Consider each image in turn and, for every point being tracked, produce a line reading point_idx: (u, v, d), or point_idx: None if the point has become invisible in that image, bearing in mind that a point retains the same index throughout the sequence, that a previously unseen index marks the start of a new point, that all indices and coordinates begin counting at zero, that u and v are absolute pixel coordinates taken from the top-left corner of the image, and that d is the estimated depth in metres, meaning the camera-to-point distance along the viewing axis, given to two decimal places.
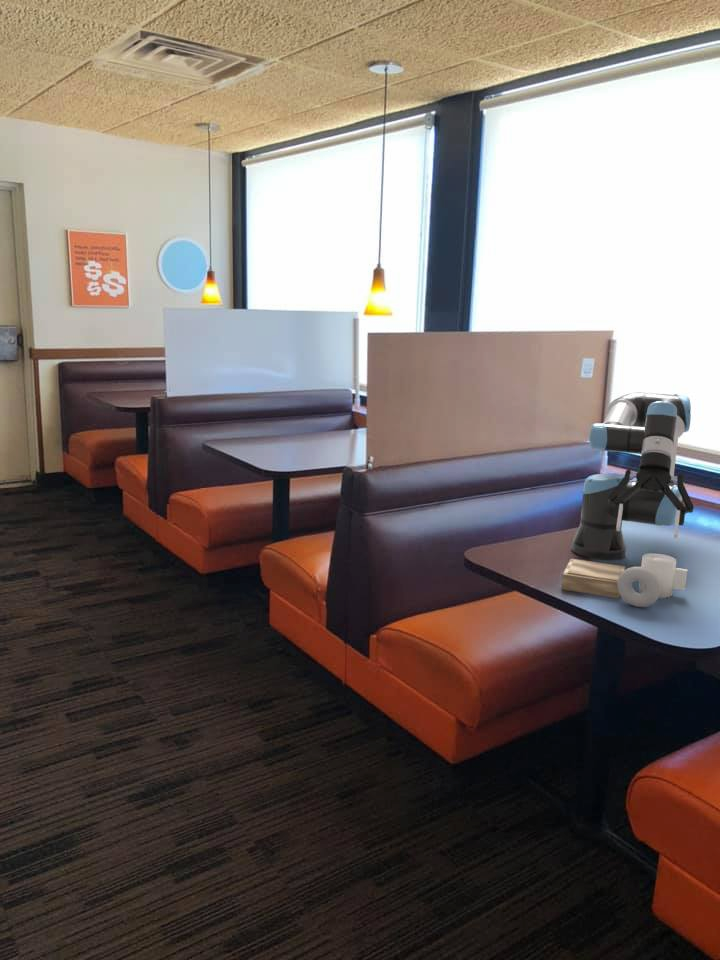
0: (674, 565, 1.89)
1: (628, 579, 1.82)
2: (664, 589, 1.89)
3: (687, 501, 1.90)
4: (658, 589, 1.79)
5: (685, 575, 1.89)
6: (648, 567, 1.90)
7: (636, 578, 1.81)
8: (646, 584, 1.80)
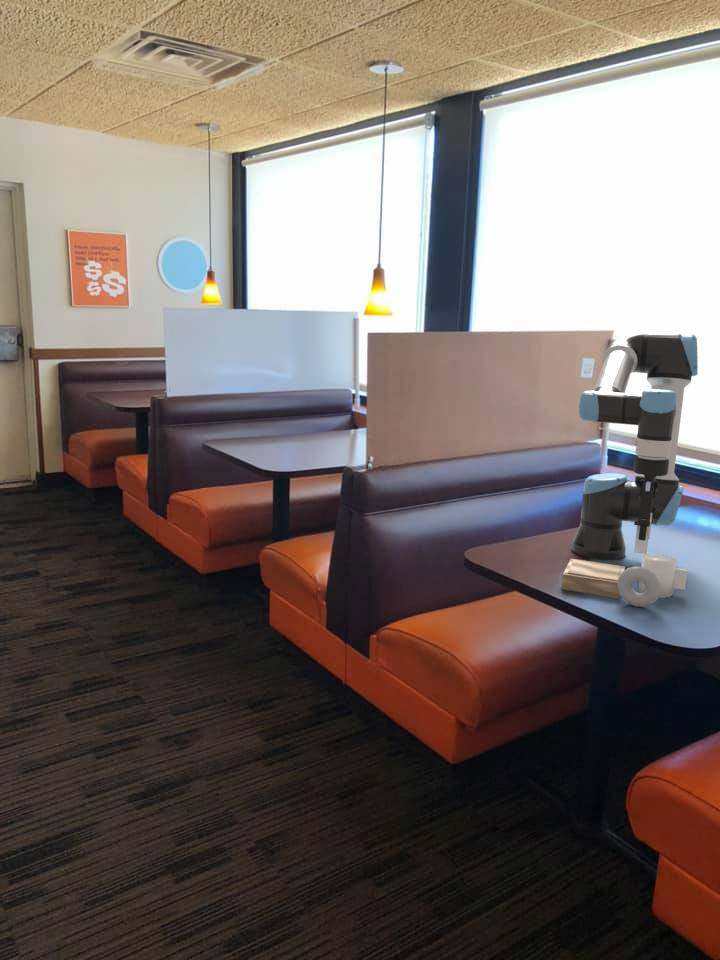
0: (674, 565, 1.89)
1: (628, 579, 1.82)
2: (664, 589, 1.89)
3: (638, 514, 1.71)
4: (658, 589, 1.79)
5: (685, 575, 1.89)
6: (648, 567, 1.90)
7: (636, 578, 1.81)
8: (646, 584, 1.80)
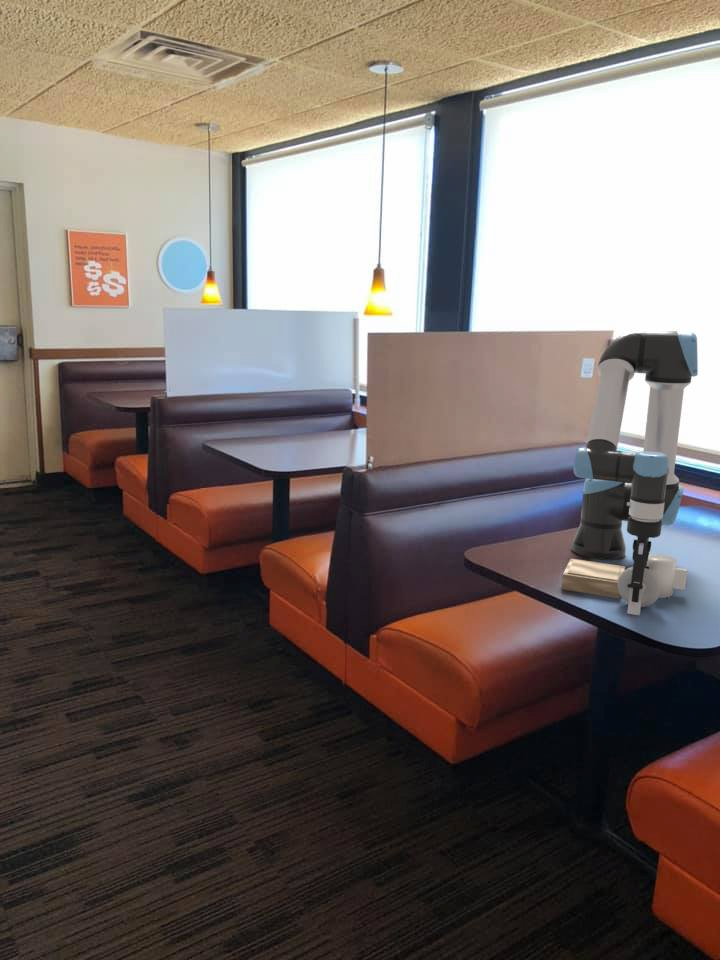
0: (674, 565, 1.89)
1: (628, 579, 1.82)
2: (664, 589, 1.89)
3: None
4: (658, 589, 1.79)
5: (685, 575, 1.89)
6: None
7: None
8: (646, 584, 1.80)
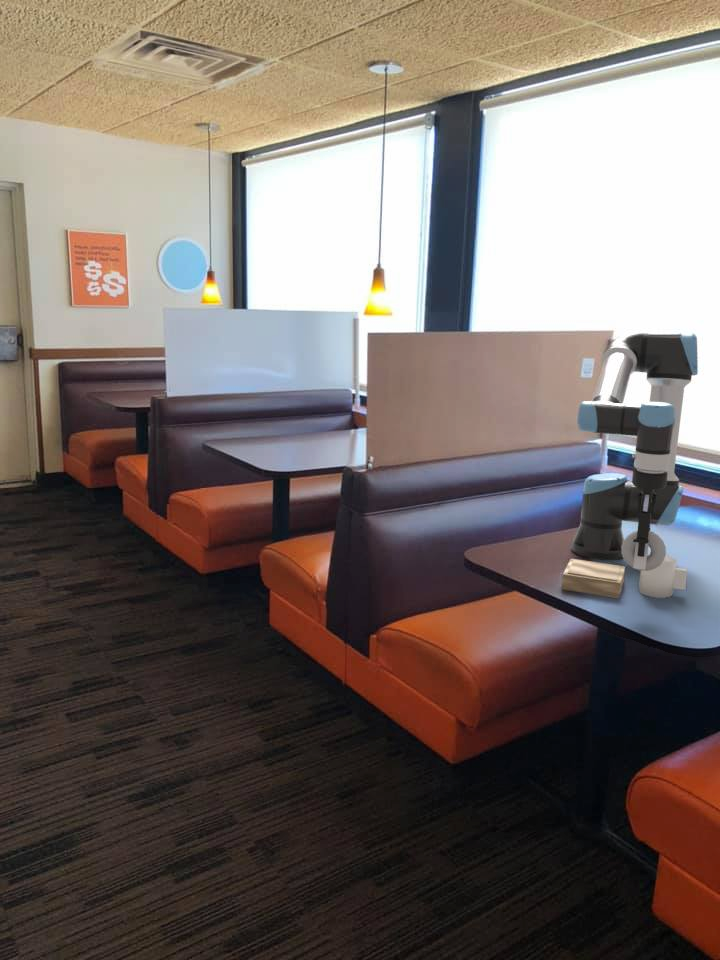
0: (674, 565, 1.89)
1: (634, 543, 1.79)
2: (664, 589, 1.89)
3: (637, 532, 1.75)
4: (664, 551, 1.78)
5: (685, 575, 1.89)
6: None
7: None
8: (652, 547, 1.78)
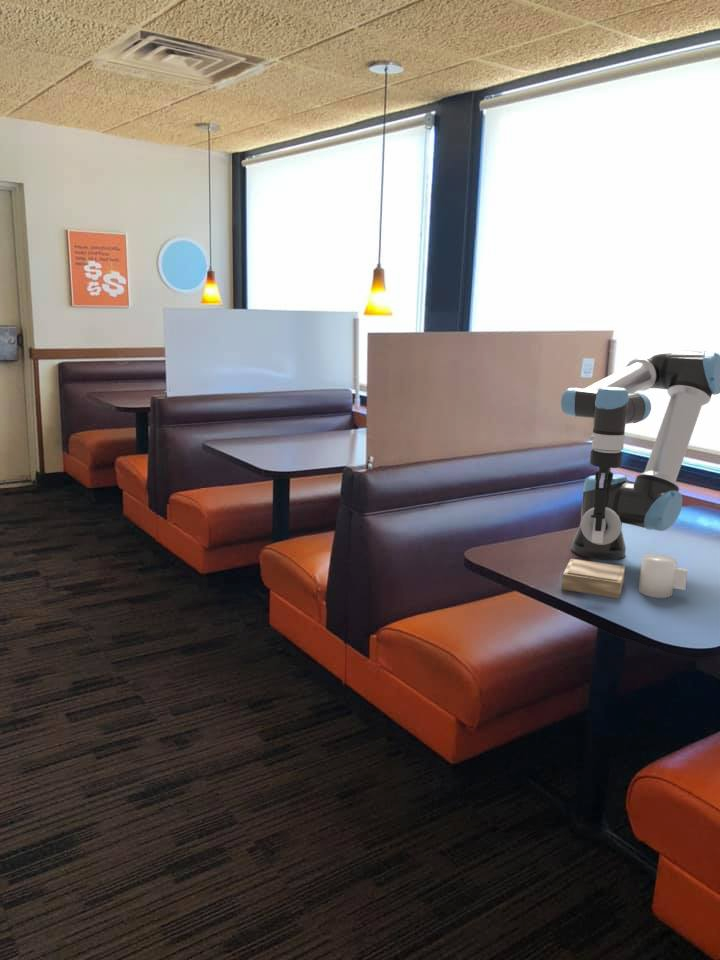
0: (674, 565, 1.89)
1: (592, 518, 1.93)
2: (664, 589, 1.89)
3: None
4: (620, 526, 1.91)
5: (685, 575, 1.89)
6: (648, 567, 1.90)
7: None
8: (609, 522, 1.91)
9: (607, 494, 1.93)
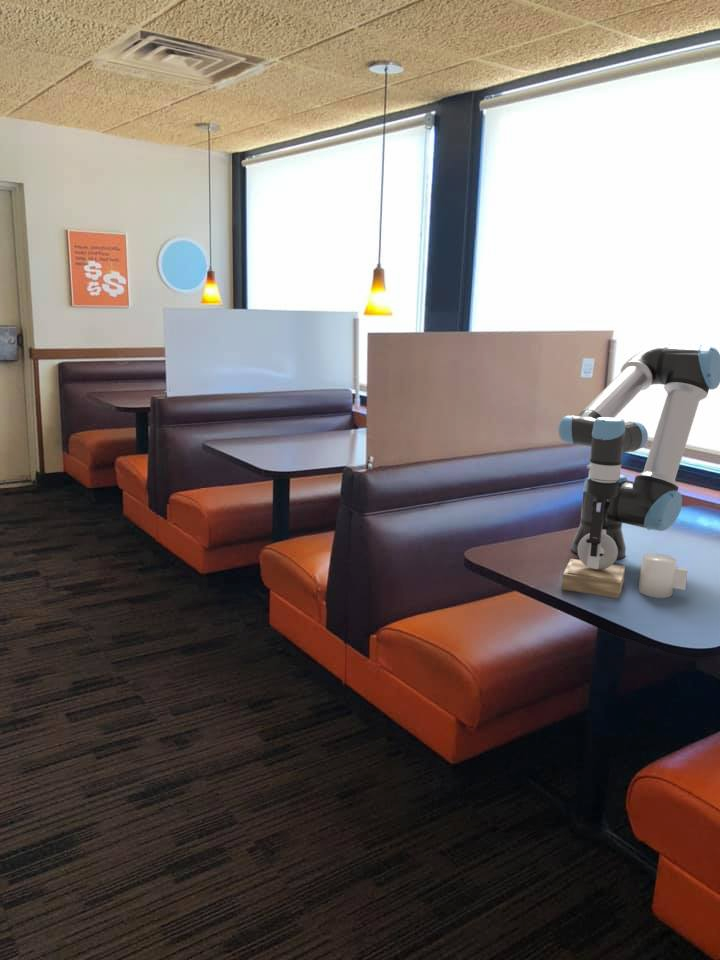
0: (674, 565, 1.89)
1: (588, 544, 1.94)
2: (664, 589, 1.89)
3: None
4: (616, 552, 1.92)
5: (685, 575, 1.89)
6: (648, 567, 1.90)
7: None
8: (605, 548, 1.93)
9: (605, 517, 1.97)
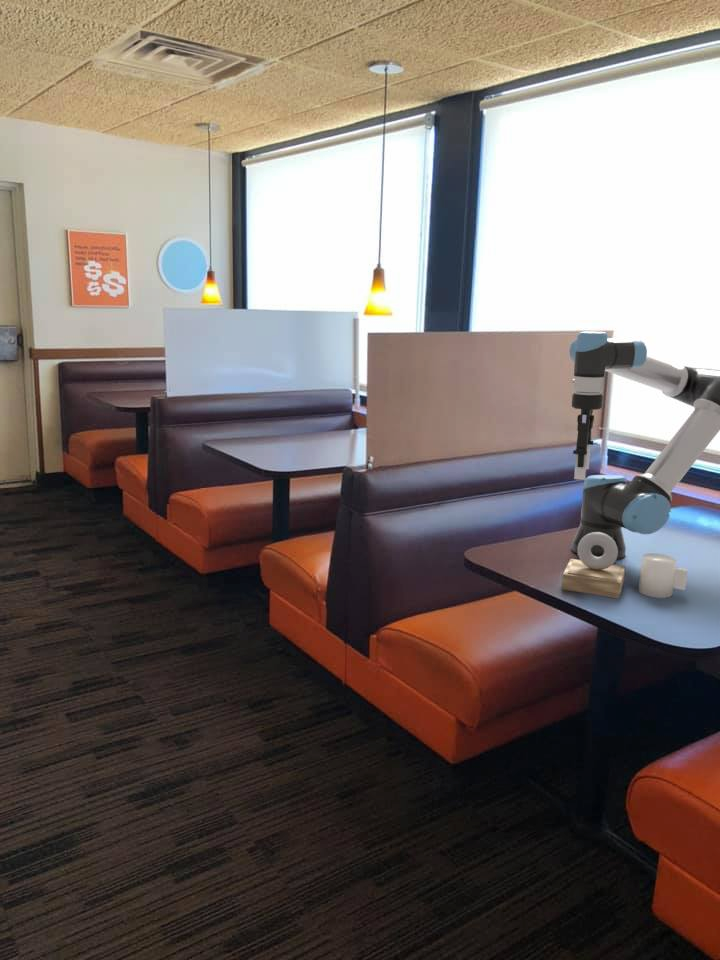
0: (674, 565, 1.89)
1: (588, 544, 1.94)
2: (664, 589, 1.89)
3: None
4: (616, 552, 1.92)
5: (685, 575, 1.89)
6: (648, 567, 1.90)
7: (596, 543, 1.93)
8: (605, 548, 1.93)
9: (589, 432, 2.01)
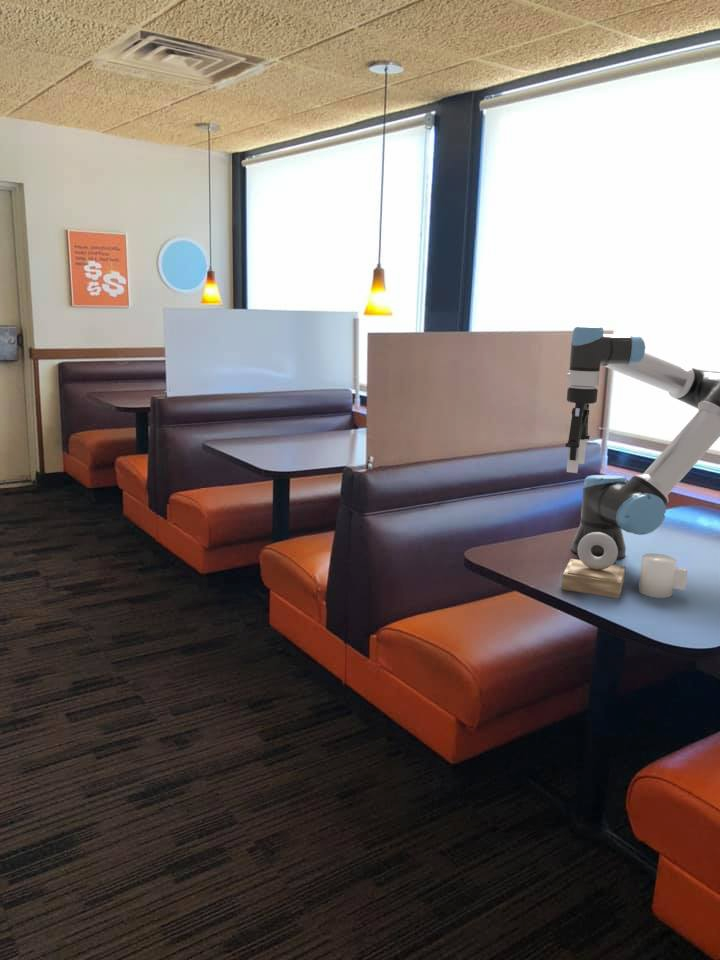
0: (674, 565, 1.89)
1: (588, 544, 1.94)
2: (664, 589, 1.89)
3: None
4: (616, 552, 1.92)
5: (685, 575, 1.89)
6: (648, 567, 1.90)
7: (596, 543, 1.93)
8: (605, 548, 1.93)
9: (585, 426, 2.02)
